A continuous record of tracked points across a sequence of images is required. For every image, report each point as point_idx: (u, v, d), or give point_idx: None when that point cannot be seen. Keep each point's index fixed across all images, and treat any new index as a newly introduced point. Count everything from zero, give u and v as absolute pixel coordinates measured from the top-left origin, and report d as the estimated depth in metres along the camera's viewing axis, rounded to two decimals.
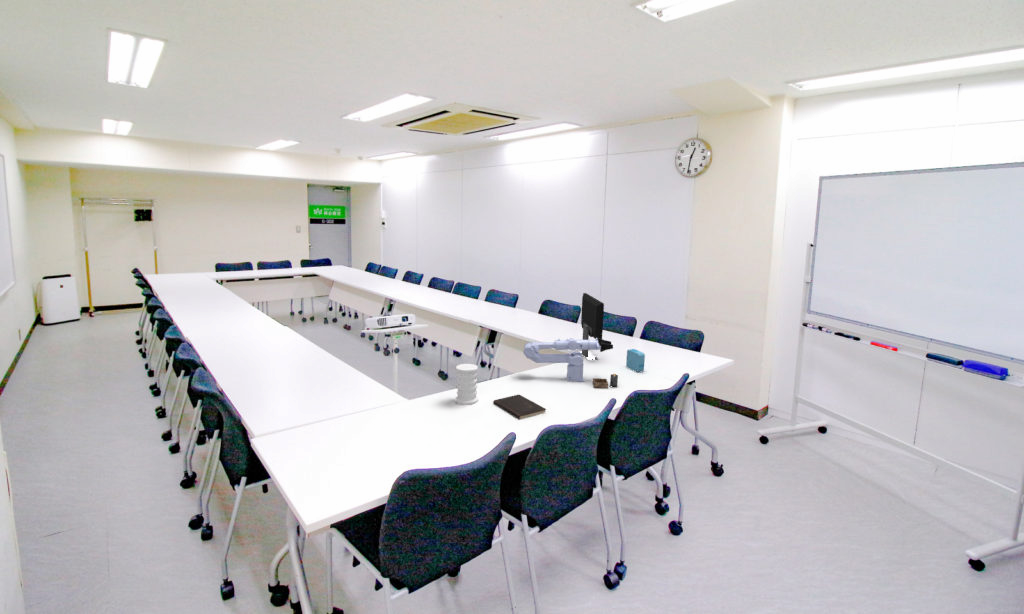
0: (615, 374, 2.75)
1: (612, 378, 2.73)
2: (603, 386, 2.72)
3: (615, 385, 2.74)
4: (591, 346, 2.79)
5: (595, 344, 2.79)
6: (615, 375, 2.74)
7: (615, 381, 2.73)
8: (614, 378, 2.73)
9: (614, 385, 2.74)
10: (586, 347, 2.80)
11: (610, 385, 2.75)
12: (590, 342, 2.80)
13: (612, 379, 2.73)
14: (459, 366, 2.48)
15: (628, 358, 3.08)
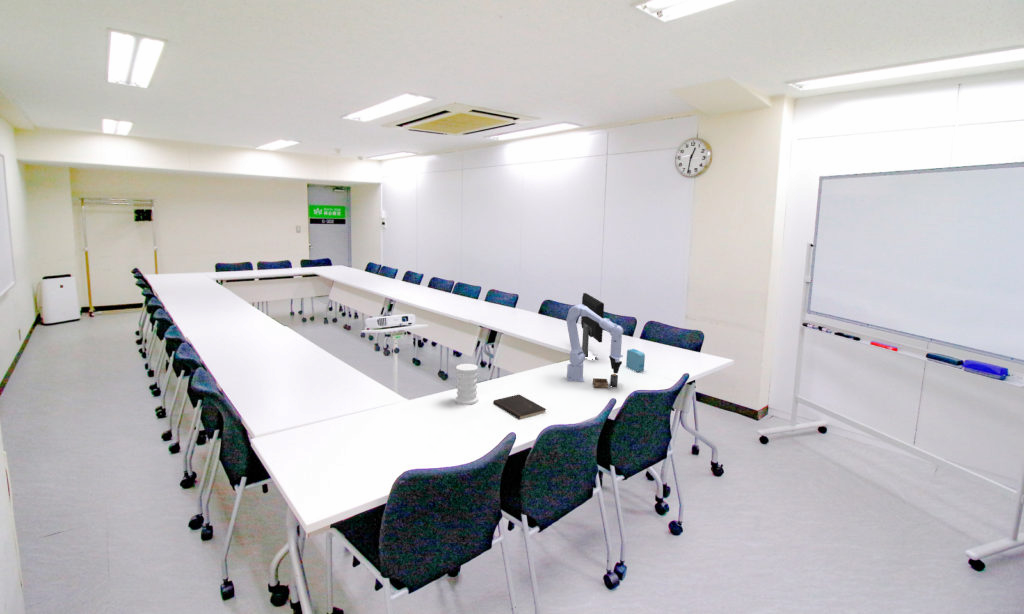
0: (615, 374, 2.74)
1: (612, 378, 2.73)
2: (603, 386, 2.72)
3: (615, 385, 2.74)
4: (616, 351, 2.69)
5: (617, 355, 2.70)
6: (615, 375, 2.74)
7: (615, 381, 2.73)
8: (614, 378, 2.73)
9: (614, 385, 2.74)
10: (613, 346, 2.69)
11: (610, 385, 2.75)
12: (619, 350, 2.70)
13: (612, 379, 2.73)
14: (459, 366, 2.48)
15: (628, 358, 3.08)
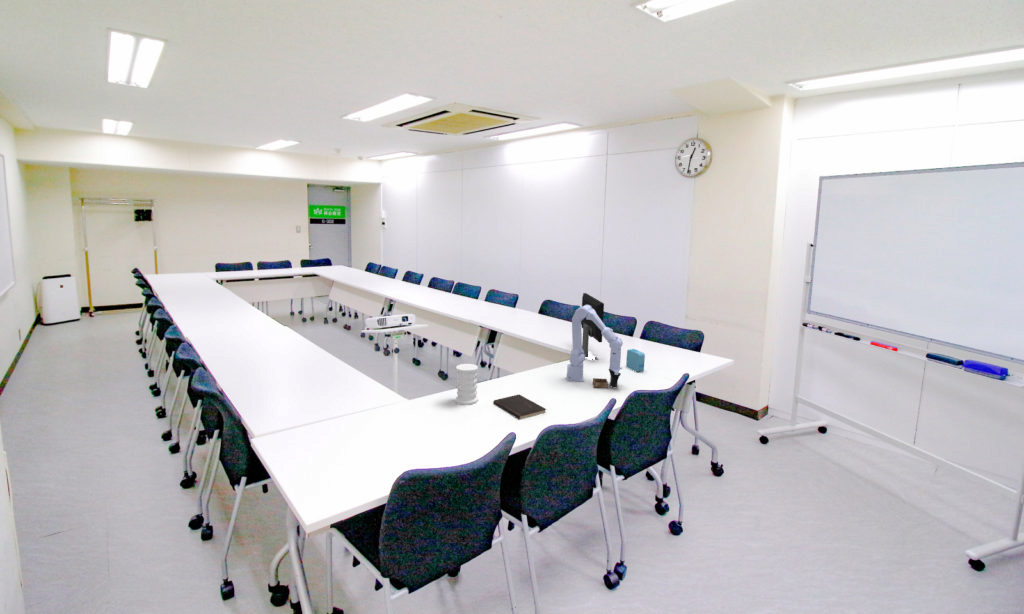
0: None
1: None
2: (603, 386, 2.72)
3: (615, 385, 2.74)
4: (615, 364, 2.70)
5: (617, 368, 2.71)
6: None
7: None
8: None
9: (614, 385, 2.74)
10: (612, 358, 2.71)
11: (610, 385, 2.75)
12: (619, 362, 2.71)
13: None
14: (459, 366, 2.48)
15: (628, 358, 3.08)
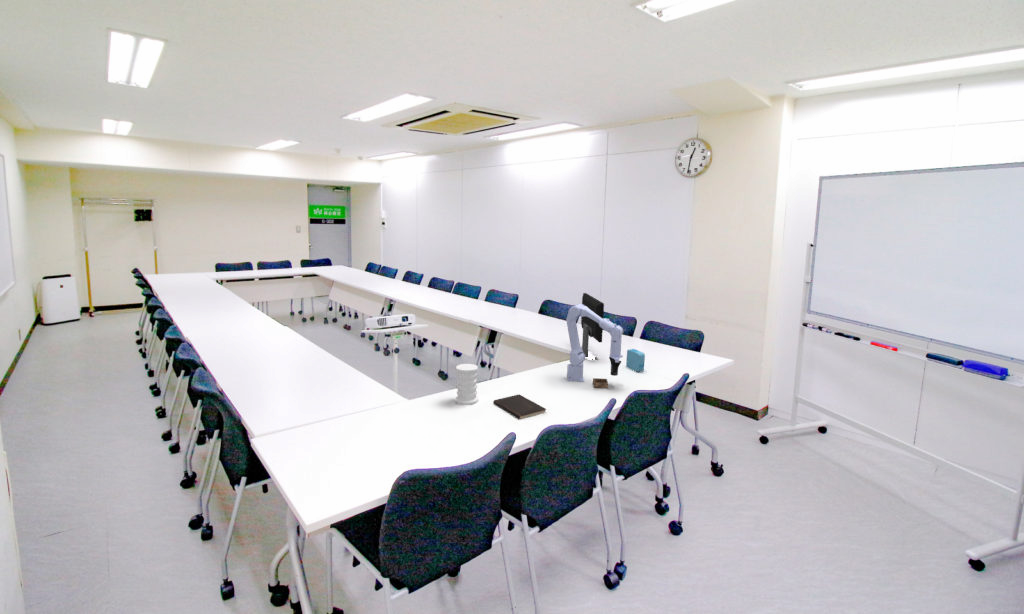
0: None
1: None
2: (603, 386, 2.72)
3: (615, 373, 2.72)
4: (615, 351, 2.69)
5: (617, 355, 2.70)
6: None
7: None
8: None
9: (614, 373, 2.72)
10: (612, 346, 2.70)
11: None
12: (619, 350, 2.70)
13: None
14: (459, 366, 2.48)
15: (628, 358, 3.08)
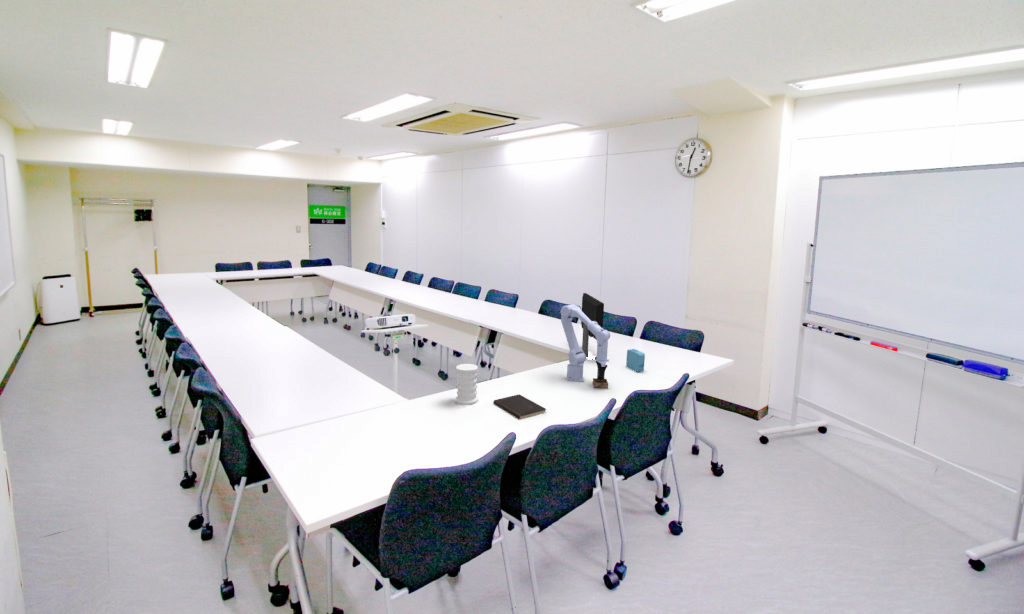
0: None
1: None
2: (603, 386, 2.72)
3: (602, 377, 2.73)
4: (602, 356, 2.70)
5: (603, 360, 2.70)
6: None
7: None
8: None
9: (601, 377, 2.73)
10: (598, 350, 2.71)
11: (597, 377, 2.75)
12: (605, 354, 2.70)
13: None
14: (459, 366, 2.48)
15: (628, 358, 3.08)
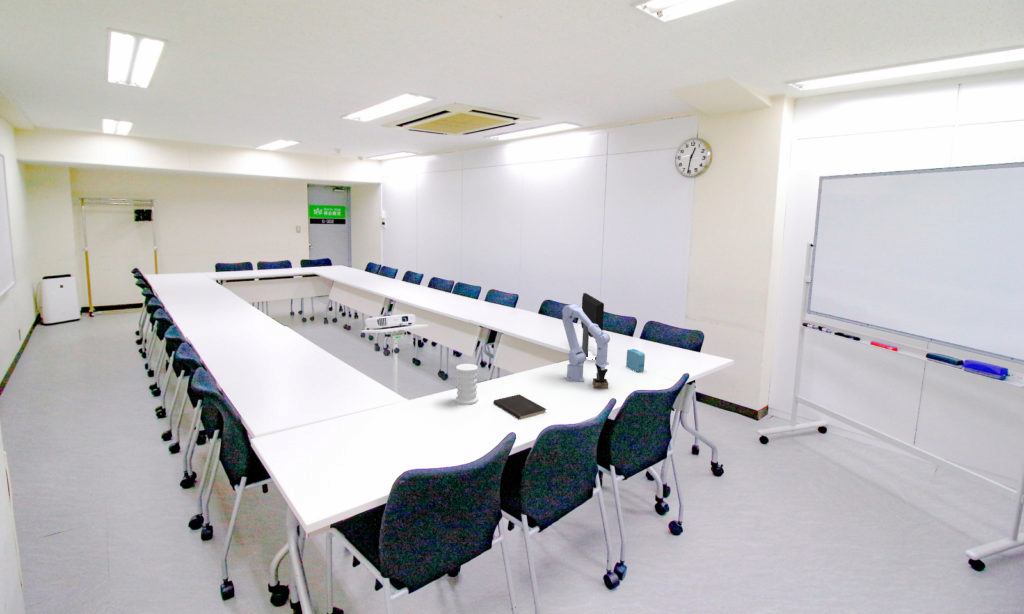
0: None
1: (598, 375, 2.74)
2: (603, 386, 2.72)
3: None
4: (601, 359, 2.70)
5: (603, 363, 2.71)
6: None
7: None
8: None
9: None
10: (598, 353, 2.71)
11: None
12: (605, 358, 2.71)
13: (598, 377, 2.74)
14: (459, 366, 2.48)
15: (628, 358, 3.08)
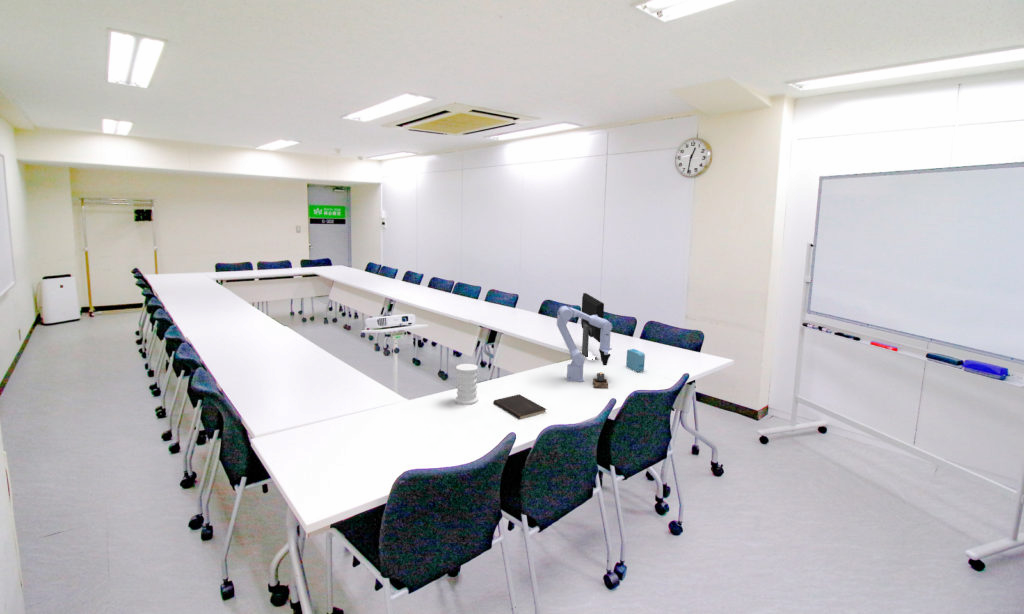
0: (601, 373, 2.74)
1: (599, 376, 2.73)
2: (603, 386, 2.72)
3: None
4: (605, 344, 2.82)
5: (606, 348, 2.82)
6: (602, 374, 2.74)
7: (602, 380, 2.73)
8: (601, 377, 2.73)
9: None
10: (605, 339, 2.81)
11: None
12: (608, 343, 2.82)
13: (599, 378, 2.73)
14: (459, 366, 2.48)
15: (628, 358, 3.08)
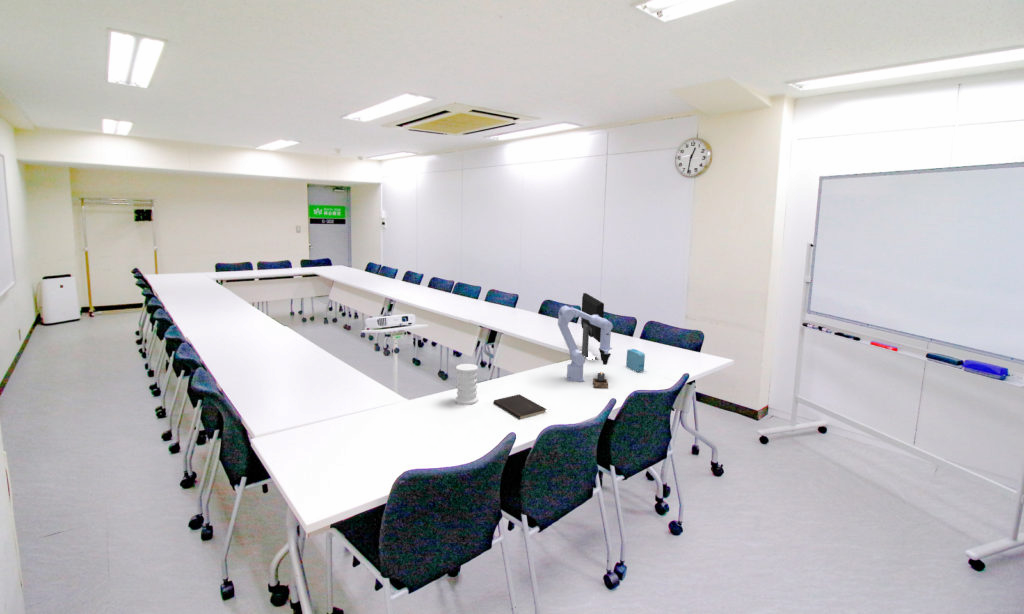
0: None
1: (599, 376, 2.73)
2: (603, 386, 2.72)
3: None
4: (605, 344, 2.83)
5: (607, 347, 2.83)
6: (602, 373, 2.74)
7: (602, 379, 2.74)
8: (601, 376, 2.73)
9: None
10: (605, 339, 2.82)
11: None
12: (608, 343, 2.83)
13: (599, 377, 2.74)
14: (459, 366, 2.48)
15: (628, 358, 3.08)
